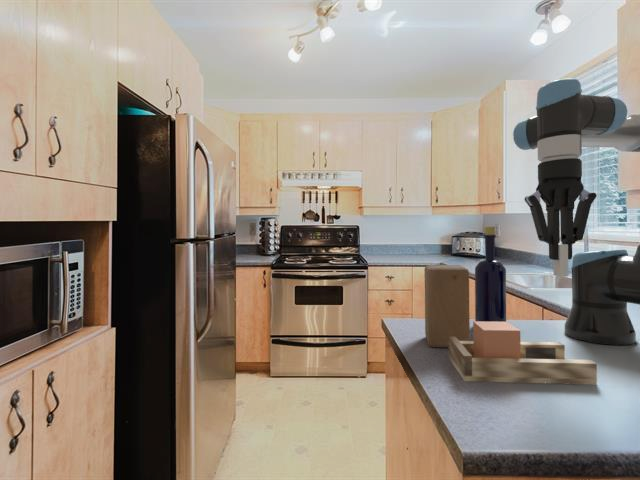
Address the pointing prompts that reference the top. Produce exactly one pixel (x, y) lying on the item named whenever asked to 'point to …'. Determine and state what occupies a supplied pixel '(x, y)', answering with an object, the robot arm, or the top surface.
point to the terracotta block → (496, 340)
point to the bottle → (490, 284)
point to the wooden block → (446, 304)
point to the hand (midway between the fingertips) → (560, 275)
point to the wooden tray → (522, 365)
